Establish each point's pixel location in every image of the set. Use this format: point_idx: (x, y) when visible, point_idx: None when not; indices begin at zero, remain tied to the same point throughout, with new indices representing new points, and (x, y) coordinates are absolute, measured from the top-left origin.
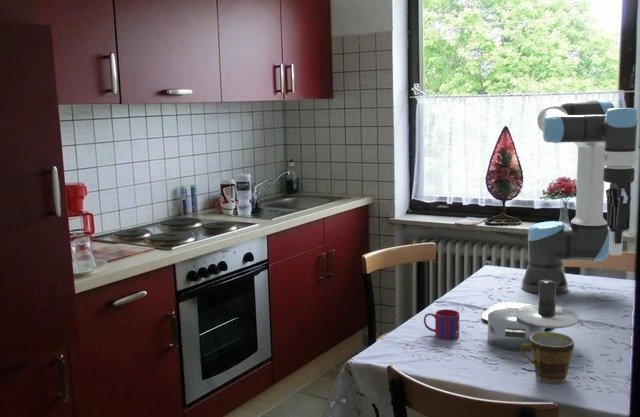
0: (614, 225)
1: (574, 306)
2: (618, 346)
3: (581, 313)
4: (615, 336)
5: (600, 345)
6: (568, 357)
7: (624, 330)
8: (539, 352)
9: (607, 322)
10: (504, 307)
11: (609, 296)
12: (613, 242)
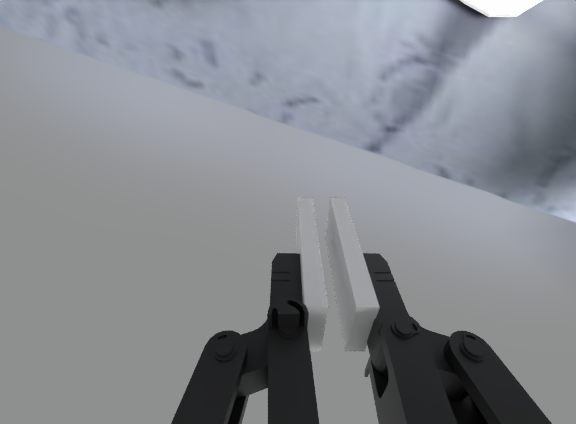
0: (272, 367)
1: (551, 81)
2: (264, 103)
3: (492, 83)
4: (324, 116)
5: (267, 62)
6: None
7: (358, 146)
8: None
9: (413, 127)
10: None
11: (573, 183)
12: (299, 250)
